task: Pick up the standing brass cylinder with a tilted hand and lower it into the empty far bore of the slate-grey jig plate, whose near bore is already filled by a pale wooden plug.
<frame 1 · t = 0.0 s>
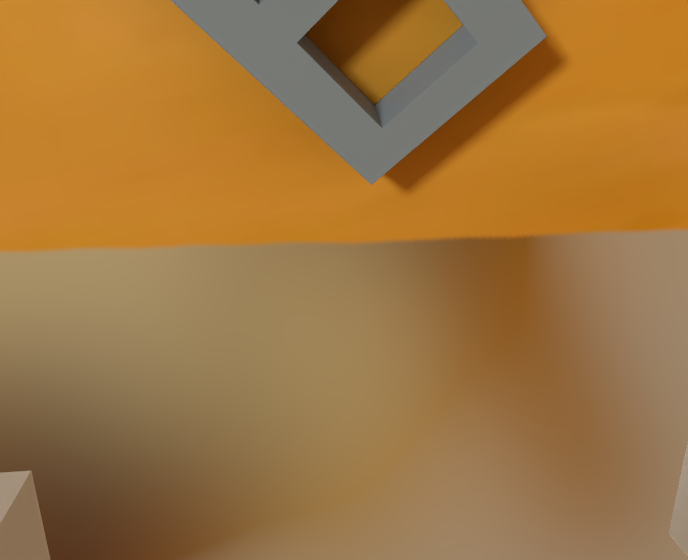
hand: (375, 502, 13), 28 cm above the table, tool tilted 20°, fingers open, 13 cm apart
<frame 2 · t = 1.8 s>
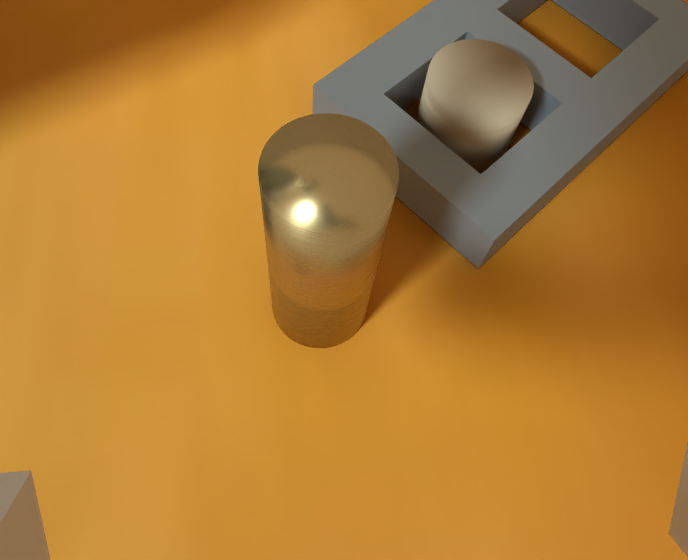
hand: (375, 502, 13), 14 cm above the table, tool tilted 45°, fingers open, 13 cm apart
jig plate: (511, 93, 36), on the table
brass cylinder: (319, 303, 30), on the table
wooden plug: (460, 135, 35), resting in jig plate
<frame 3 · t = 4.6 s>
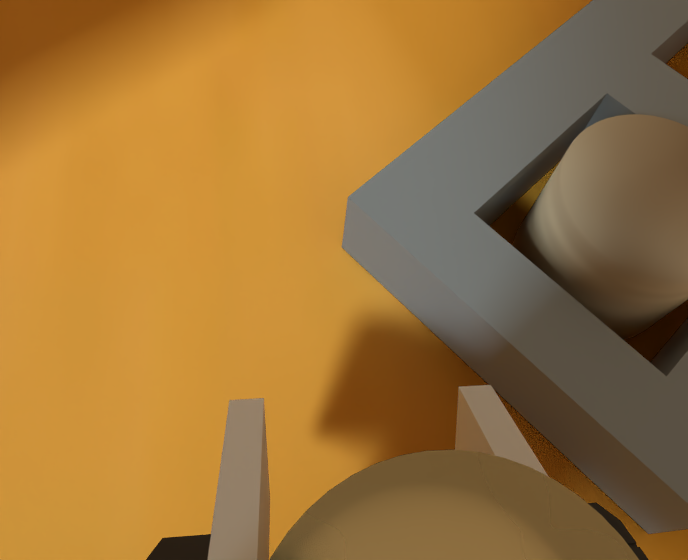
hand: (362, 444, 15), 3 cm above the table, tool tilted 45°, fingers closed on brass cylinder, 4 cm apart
jig plate: (665, 188, 22), on the table
wooden plug: (590, 266, 21), resting in jig plate
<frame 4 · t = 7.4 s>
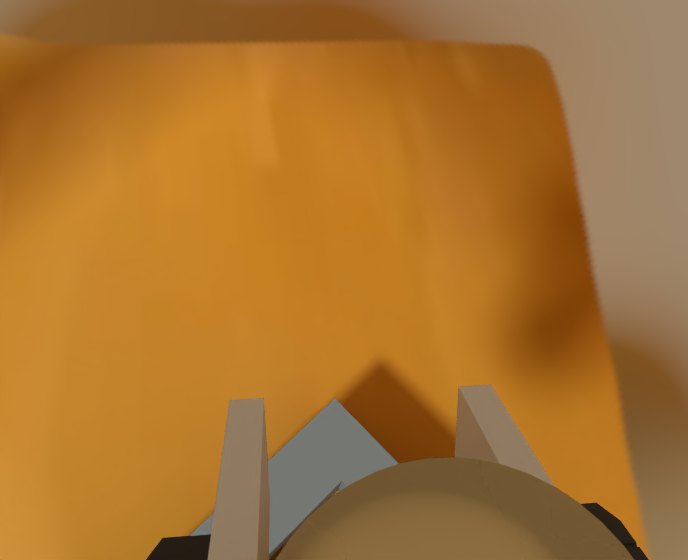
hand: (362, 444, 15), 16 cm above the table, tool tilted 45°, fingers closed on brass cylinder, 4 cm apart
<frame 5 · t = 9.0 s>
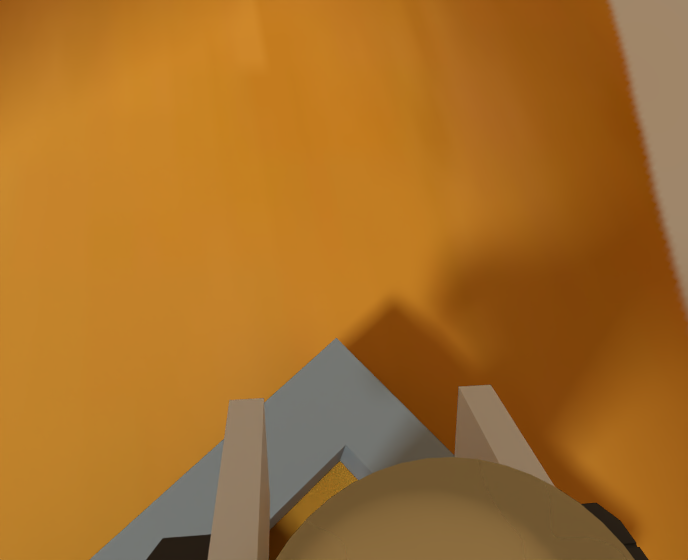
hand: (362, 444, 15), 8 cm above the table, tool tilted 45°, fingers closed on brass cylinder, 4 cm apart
when the fingers open (6 cm above the table, at t = 10.4 s): brass cylinder drops 2 cm, resting in jig plate.
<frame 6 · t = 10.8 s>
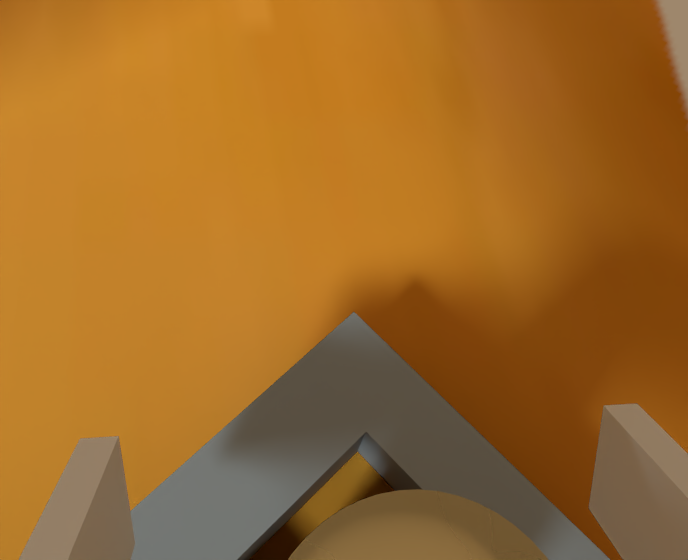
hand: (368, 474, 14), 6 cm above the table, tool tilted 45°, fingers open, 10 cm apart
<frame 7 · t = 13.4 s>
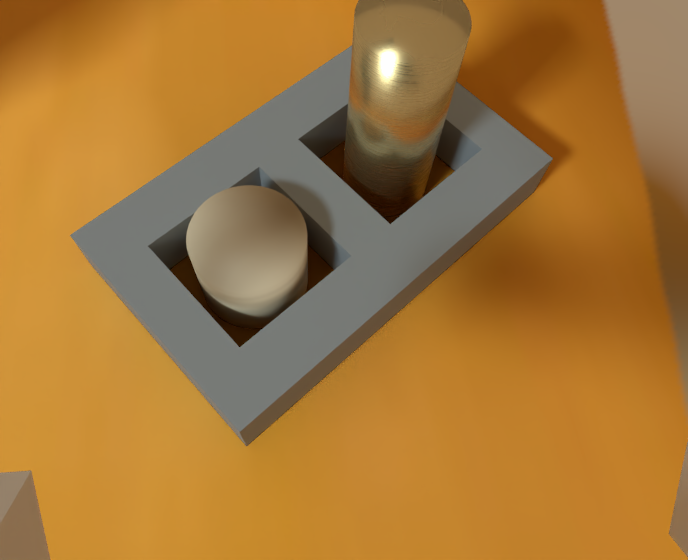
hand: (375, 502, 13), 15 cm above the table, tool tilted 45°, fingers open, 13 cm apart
jig plate: (322, 226, 33), on the table
brass cylinder: (384, 180, 34), resting in jig plate
wooden plug: (255, 279, 32), resting in jig plate
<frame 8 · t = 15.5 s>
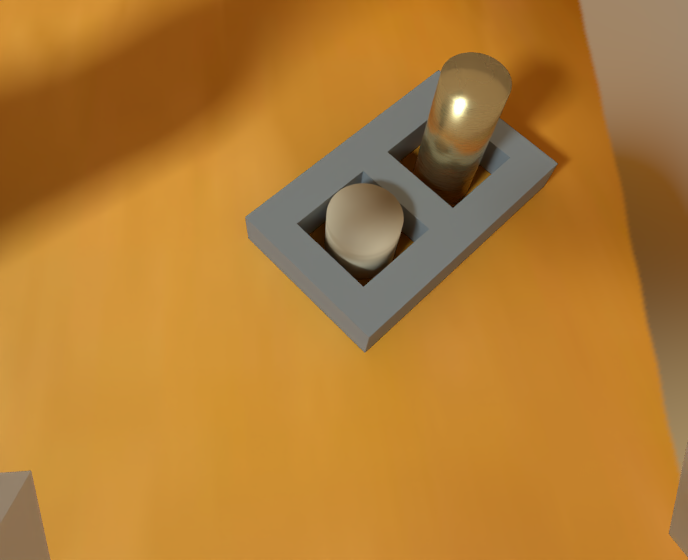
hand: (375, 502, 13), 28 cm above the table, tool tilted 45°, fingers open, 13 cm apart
jig plate: (401, 211, 48), on the table
brass cylinder: (441, 179, 50), resting in jig plate
wooden plug: (359, 246, 47), resting in jig plate
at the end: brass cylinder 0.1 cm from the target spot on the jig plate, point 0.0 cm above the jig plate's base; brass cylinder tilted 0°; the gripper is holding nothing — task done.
